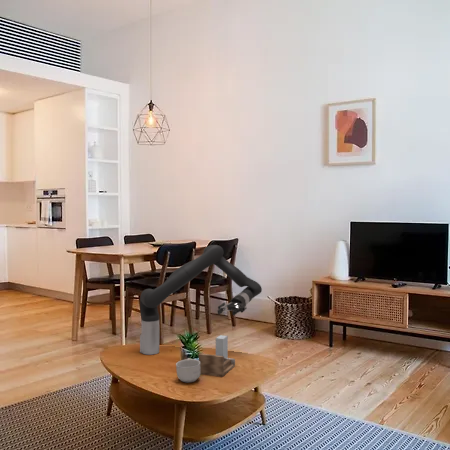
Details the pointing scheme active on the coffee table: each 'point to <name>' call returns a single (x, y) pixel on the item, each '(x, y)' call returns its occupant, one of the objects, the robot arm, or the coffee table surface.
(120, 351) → the coffee table surface
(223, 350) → the tall grey pillar
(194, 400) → the coffee table surface
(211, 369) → the track block
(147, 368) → the coffee table surface
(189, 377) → the teacup
